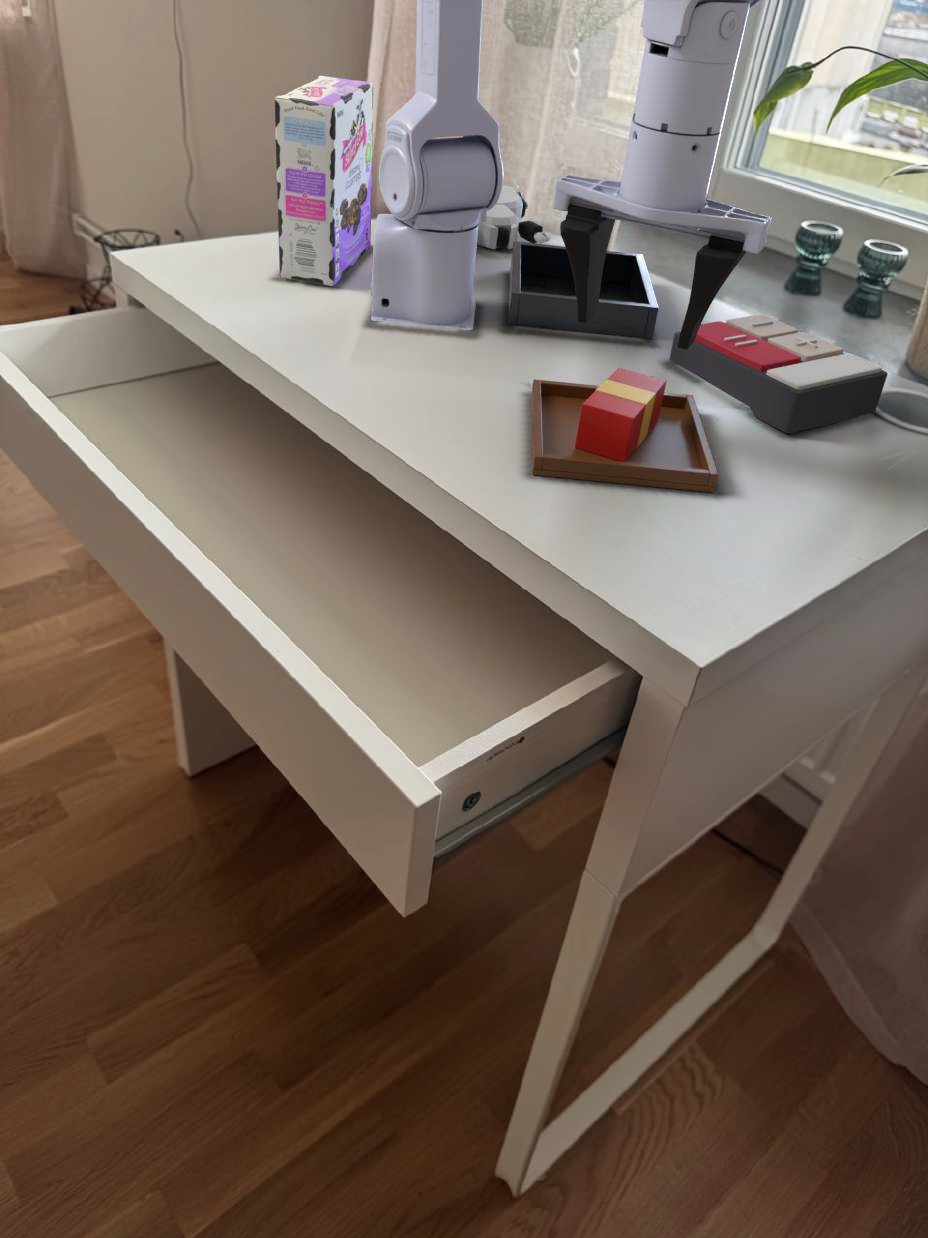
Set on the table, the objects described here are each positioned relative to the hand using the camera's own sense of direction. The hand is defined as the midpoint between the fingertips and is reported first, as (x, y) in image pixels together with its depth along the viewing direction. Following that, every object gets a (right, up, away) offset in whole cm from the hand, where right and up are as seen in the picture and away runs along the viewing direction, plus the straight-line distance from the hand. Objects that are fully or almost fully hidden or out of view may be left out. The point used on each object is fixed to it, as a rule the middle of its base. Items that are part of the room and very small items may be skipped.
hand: (635, 331), depth 70 cm
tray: (-1, -7, +5) cm, 9 cm away
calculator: (+14, -1, +15) cm, 21 cm away
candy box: (-27, +16, +31) cm, 44 cm away
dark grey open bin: (-1, +10, +27) cm, 29 cm away
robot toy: (-10, +23, +43) cm, 50 cm away
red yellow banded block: (-1, -7, +5) cm, 8 cm away
